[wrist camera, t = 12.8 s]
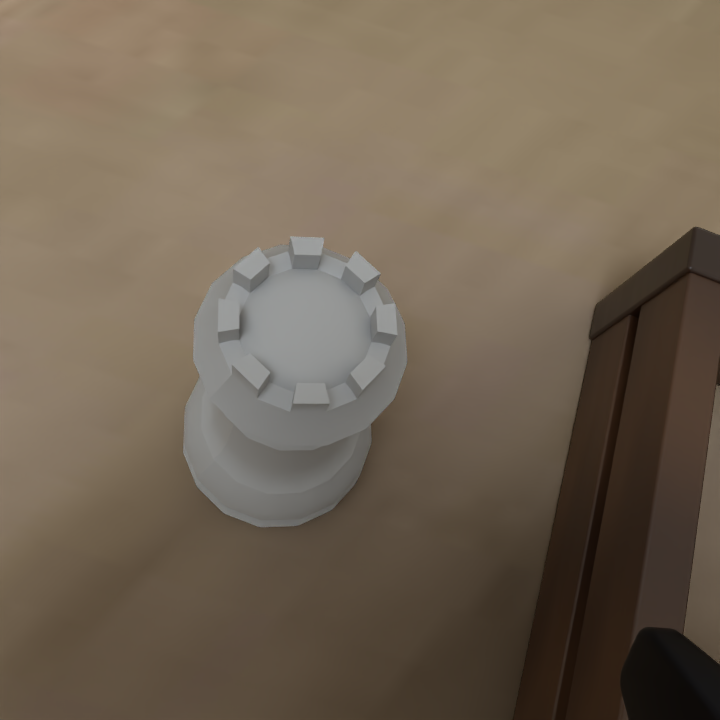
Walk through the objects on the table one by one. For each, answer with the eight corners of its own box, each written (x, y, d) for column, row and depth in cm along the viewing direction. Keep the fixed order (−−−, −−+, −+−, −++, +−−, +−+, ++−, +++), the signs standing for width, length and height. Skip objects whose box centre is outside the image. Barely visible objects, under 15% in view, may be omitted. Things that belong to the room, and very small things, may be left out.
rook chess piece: (250, 569, 16) (264, 549, 8) (147, 413, 17) (76, 269, 9) (400, 460, 17) (524, 362, 10) (299, 321, 18) (345, 131, 11)
